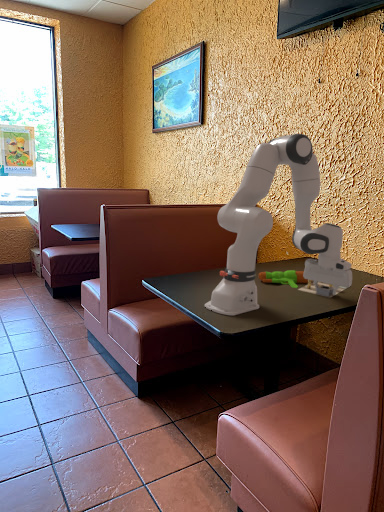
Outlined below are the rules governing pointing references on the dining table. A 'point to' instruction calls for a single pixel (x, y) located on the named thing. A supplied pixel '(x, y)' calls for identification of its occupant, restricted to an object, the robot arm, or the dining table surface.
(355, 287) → the dining table surface
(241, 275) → the robot arm
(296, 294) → the dining table surface
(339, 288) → the board
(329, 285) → the rope post barrier
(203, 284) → the dining table surface
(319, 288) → the grey square box
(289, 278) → the toy
